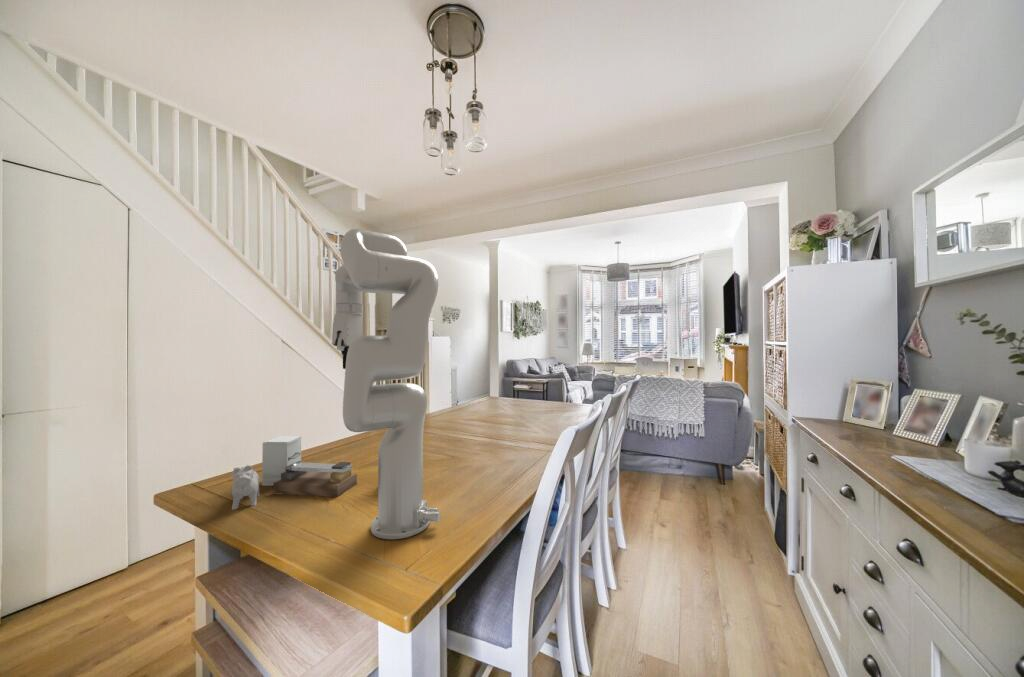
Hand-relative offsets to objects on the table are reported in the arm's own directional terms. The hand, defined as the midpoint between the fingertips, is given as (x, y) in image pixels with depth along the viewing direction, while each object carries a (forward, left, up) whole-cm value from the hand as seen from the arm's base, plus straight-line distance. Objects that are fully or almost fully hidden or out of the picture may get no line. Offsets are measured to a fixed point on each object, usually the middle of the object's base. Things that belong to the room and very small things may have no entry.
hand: (349, 368), depth 112 cm
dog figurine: (+15, +22, -33) cm, 42 cm away
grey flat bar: (+2, +11, -28) cm, 30 cm away
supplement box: (+17, +7, -33) cm, 38 cm away
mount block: (+3, +11, -33) cm, 35 cm away
